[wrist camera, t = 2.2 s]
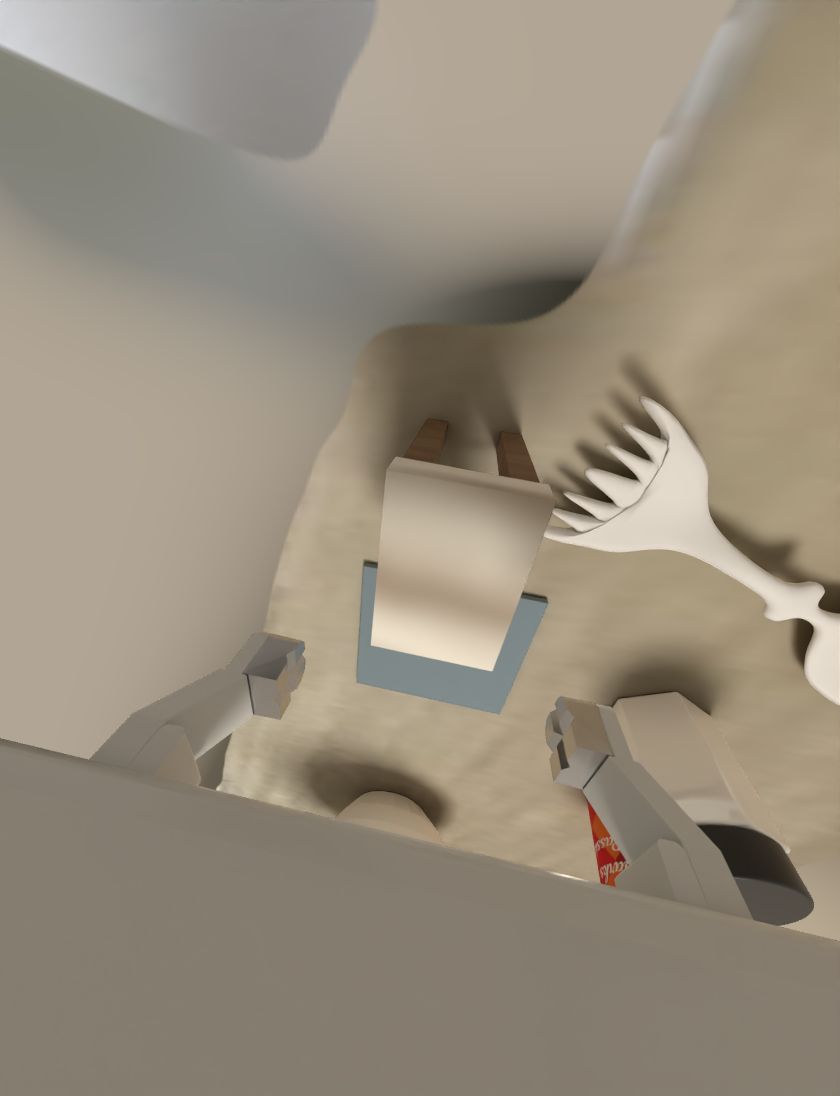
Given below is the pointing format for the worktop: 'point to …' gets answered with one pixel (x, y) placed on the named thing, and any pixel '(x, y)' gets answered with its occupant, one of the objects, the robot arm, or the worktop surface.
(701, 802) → the jar
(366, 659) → the mat
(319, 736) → the worktop surface
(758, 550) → the worktop surface
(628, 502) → the white spork
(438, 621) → the stool
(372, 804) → the white vase
